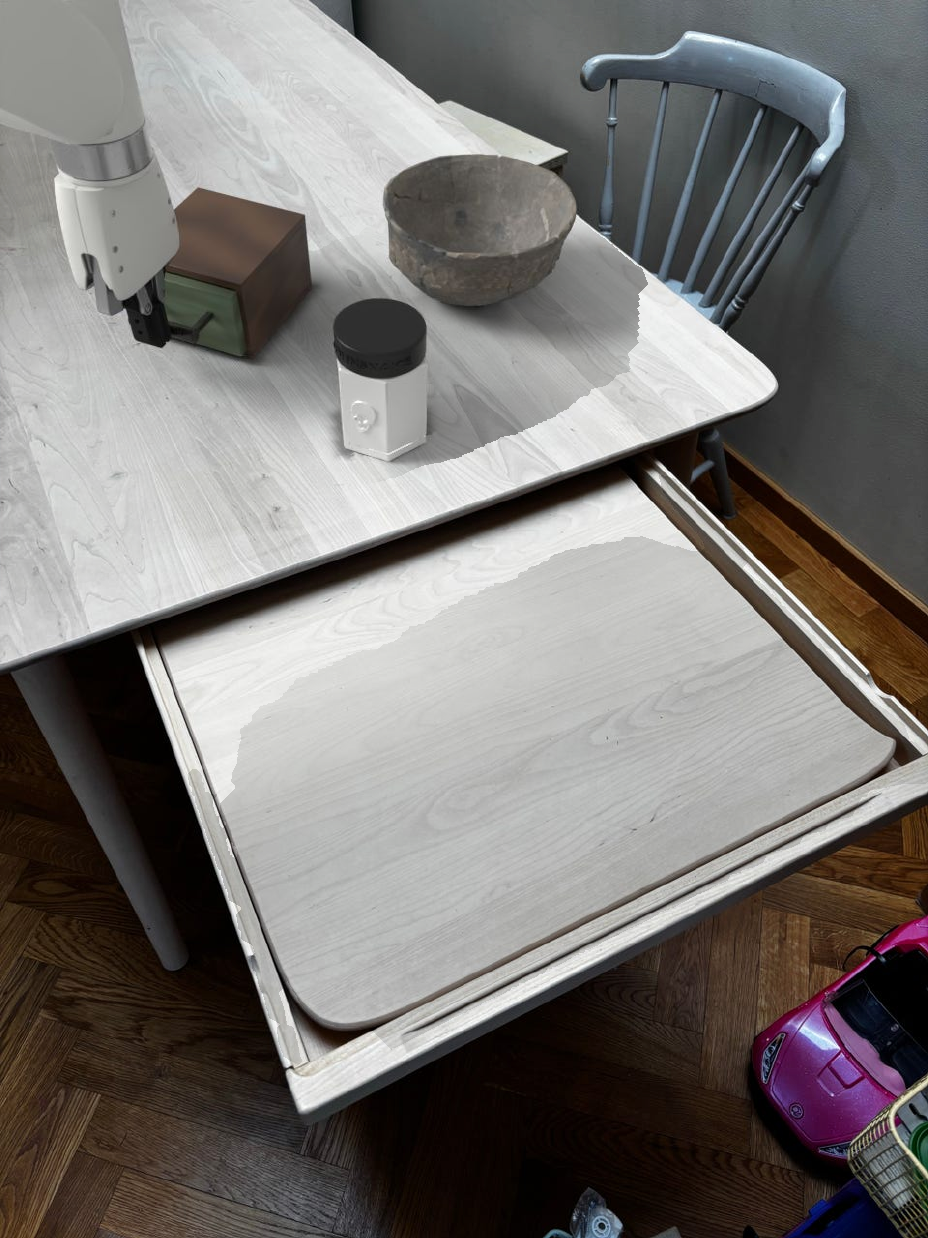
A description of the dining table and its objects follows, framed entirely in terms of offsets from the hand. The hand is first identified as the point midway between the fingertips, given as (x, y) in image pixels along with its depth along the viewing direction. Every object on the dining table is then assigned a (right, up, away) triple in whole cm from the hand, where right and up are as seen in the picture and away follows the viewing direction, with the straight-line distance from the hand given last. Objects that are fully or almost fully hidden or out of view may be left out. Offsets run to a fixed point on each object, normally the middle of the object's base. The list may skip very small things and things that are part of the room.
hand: (153, 339), depth 87 cm
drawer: (+3, +5, +9) cm, 10 cm away
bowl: (+31, +11, +16) cm, 37 cm away
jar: (+22, -9, +1) cm, 23 cm away
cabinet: (+5, +7, +12) cm, 14 cm away
